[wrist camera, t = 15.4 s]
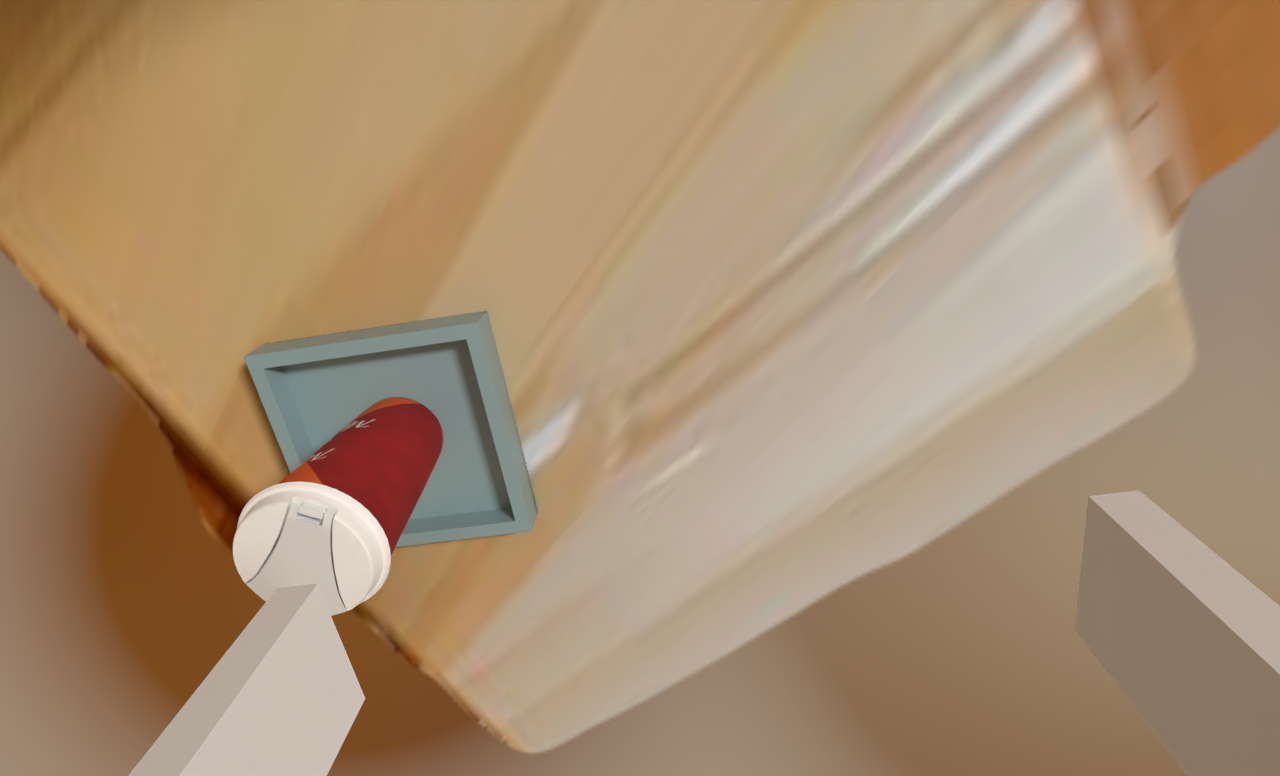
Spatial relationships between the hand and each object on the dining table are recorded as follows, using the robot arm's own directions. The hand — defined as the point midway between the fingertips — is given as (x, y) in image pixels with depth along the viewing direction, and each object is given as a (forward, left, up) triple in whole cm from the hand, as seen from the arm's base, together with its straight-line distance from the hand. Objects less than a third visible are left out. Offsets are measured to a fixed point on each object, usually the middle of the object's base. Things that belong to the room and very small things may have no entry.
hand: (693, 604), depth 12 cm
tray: (+11, -21, -35) cm, 42 cm away
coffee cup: (+11, -21, -34) cm, 42 cm away
